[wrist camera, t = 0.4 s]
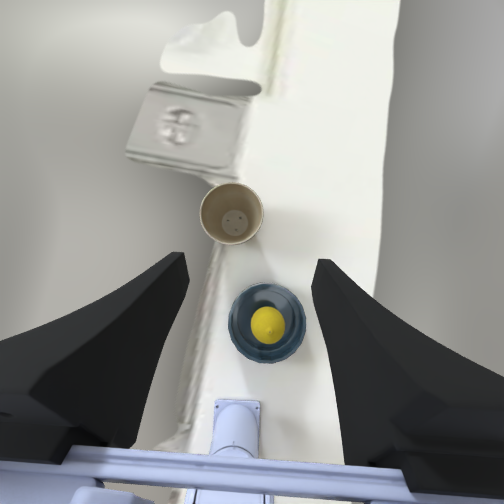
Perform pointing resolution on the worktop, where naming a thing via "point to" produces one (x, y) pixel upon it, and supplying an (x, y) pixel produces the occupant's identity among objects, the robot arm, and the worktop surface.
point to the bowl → (243, 314)
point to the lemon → (268, 325)
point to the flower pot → (231, 213)
